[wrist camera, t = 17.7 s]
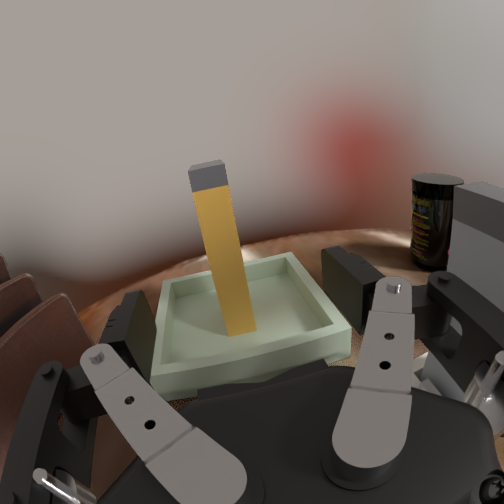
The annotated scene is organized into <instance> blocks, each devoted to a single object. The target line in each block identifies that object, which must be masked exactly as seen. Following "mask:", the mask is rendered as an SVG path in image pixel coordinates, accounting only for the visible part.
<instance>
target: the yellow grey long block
mask: <svg viewBox="0 0 504 504" xmlns="http://www.w3.org/2000/svg"><path fill="white" fill-rule="evenodd" d="M188 174H189V179H190V184H191V188H192V193H193V197H194V202H195V206H196V211H197V215H198V219H199V224H200V228H201V232H202V236H203V240H204V245H205V249H206V253H207V257H208V261H209V265H210V269H211V273H212V277H213V281H214V285H215V289H216V293H217V296H218V300H219V304H220V308H221V311H222V315H223V319H224V322H225V326H226V330H227V333H228V337H231V336H236V335H240V334H245V333H249V332H253V331H257V328H256V323H255V318H254V314H253V309H252V304H251V299H250V294H249V289H248V284H247V279H246V274H245V268H244V263H243V258H242V253H241V248H240V243H239V238H238V233H237V228H236V223H235V217H234V212H233V207H232V202H231V196H230V191H229V186H228V181H227V175H226V170H225V164H224V163H223V162H222V161H221V160H216V161H211V162H206V163H202V164H197V165H193V166H191V167H190V169H189V171H188Z"/></svg>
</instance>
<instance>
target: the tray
mask: <svg viewBox="0 0 504 504" xmlns="http://www.w3.org/2000/svg"><path fill="white" fill-rule="evenodd" d="M244 268H245V274H246V279H247V284H248V289H249V294H250V299H251V304H252V309H253V314H254V318H255V323H256V328H257V331H253V332H249V333H245V334H240V335H236V336H231V337H228V333H227V330H226V326H225V322H224V319H223V315H222V311H221V308H220V304H219V300H218V296H217V293H216V289H215V285H214V281H213V277H212V273H211V270H209V271H205V272H200V273H196V274H191V275H187V276H182V277H178V278H173V279H169V280H164V281H163V285H162V289H161V294H160V299H159V304H158V309H157V315H156V320H155V322H156V327H157V334H156V341H155V347H154V354H153V361H152V369H151V377H150V383H151V385H152V387H153V388H154V390H155V391H156V392H157V393H158V394H159V395H160V396H161V397H162V398H163V399H164V400H165V401H171V400H178V399H185V398H191V397H197V396H198V392H197V389H202V388H208V387H213V386H218V385H223V384H228V383H258V382H264V381H267V380H269V379H271V378H273V377H275V376H277V375H279V374H281V373H284V372H286V371H288V370H290V369H291V368H293V367H297V366H300V365H304V364H307V363H310V362H313V361H317V360H320V359H323V358H324V360H325V362H326V363H327V364H329V363H332V362H335V361H338V360H341V359H344V358H347V357H350V349H351V333H352V327H351V326H350V325H349V323H348V322H347V321H346V320H345V318H344V317H343V316H342V315H341V313H340V312H339V311H338V309H337V308H336V307H335V306H334V304H333V303H332V302H331V301H330V299H329V298H328V297H327V296H326V294H325V293H324V292H323V291H322V289H321V288H320V287H319V286H318V284H317V283H316V282H315V281H314V279H313V278H312V277H311V276H310V274H309V273H308V272H307V271H306V269H305V268H304V267H303V266H302V265H301V263H300V262H299V261H298V260H297V258H296V257H295V256H294V255H293V254H292V252H288V253H284V254H280V255H275V256H271V257H267V258H262V259H258V260H253V261H249V262H245V263H244Z"/></svg>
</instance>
